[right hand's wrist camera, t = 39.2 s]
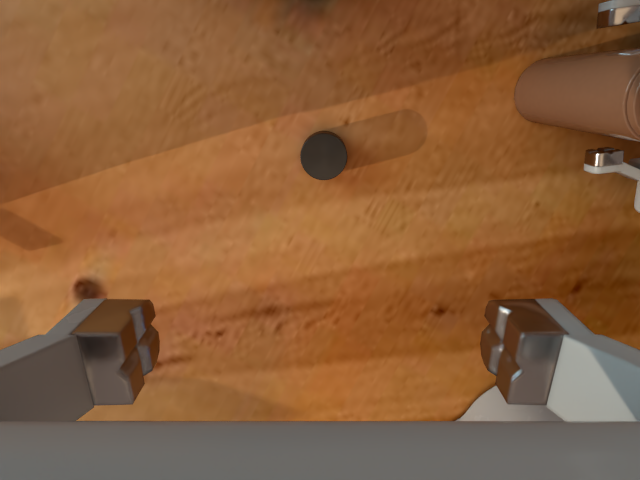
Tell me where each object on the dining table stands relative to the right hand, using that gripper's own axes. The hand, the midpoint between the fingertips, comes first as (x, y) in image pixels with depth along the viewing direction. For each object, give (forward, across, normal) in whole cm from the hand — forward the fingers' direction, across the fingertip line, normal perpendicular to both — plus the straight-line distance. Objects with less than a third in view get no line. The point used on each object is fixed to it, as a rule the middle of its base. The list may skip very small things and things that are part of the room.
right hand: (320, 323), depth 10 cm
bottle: (+27, +18, +5) cm, 33 cm away
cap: (+25, 0, 0) cm, 25 cm away
